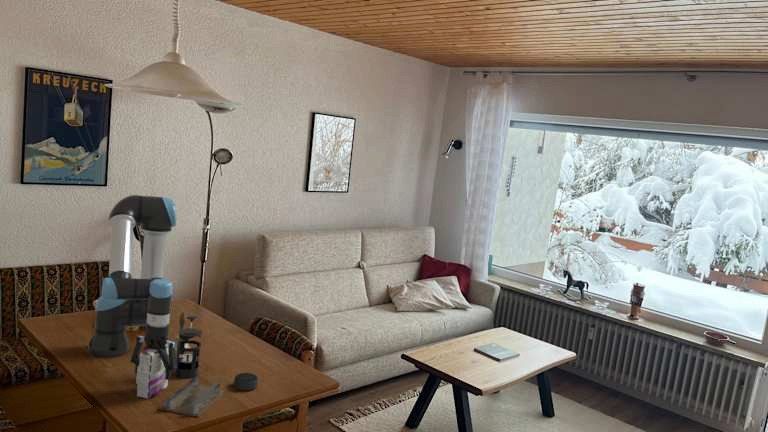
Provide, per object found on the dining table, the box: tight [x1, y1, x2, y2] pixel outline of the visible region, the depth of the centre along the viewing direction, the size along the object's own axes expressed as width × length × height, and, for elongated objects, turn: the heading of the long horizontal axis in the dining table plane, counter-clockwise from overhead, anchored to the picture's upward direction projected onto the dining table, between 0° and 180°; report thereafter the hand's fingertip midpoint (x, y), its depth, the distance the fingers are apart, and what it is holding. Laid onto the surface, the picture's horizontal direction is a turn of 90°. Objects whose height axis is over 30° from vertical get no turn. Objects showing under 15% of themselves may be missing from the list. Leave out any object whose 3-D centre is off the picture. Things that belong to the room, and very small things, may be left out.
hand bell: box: [174, 311, 191, 352], centre depth 251 cm, size 8×8×16 cm
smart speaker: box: [233, 372, 259, 392], centre depth 223 cm, size 9×9×4 cm
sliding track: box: [159, 377, 225, 418], centre depth 206 cm, size 14×21×4 cm, turn 172°
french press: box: [172, 315, 204, 380], centre depth 226 cm, size 12×9×23 cm
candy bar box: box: [136, 344, 169, 400], centre depth 207 cm, size 11×5×16 cm, turn 168°
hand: (151, 384), depth 207 cm, fingers open, 9 cm apart
